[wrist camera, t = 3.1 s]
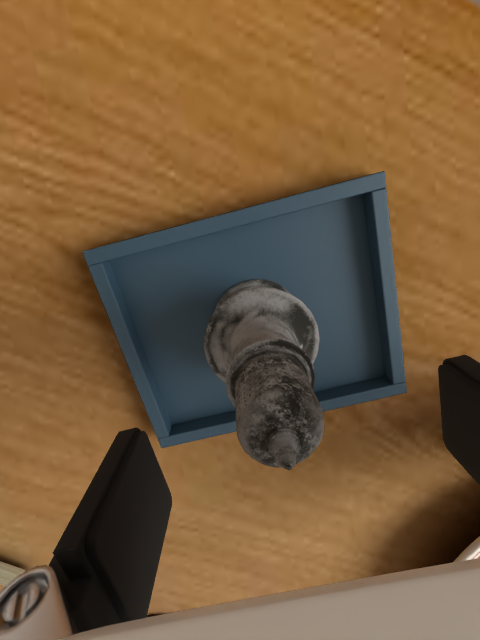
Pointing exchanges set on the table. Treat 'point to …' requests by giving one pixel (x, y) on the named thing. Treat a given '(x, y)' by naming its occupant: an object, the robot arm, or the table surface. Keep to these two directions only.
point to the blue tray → (246, 264)
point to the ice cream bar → (8, 573)
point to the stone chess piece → (268, 370)
